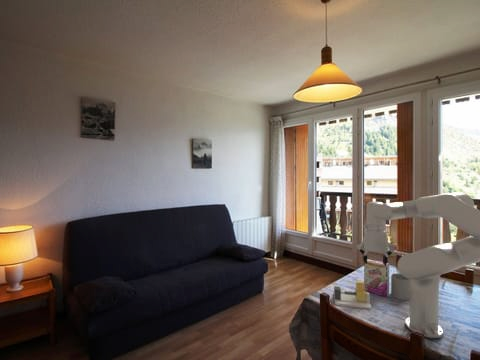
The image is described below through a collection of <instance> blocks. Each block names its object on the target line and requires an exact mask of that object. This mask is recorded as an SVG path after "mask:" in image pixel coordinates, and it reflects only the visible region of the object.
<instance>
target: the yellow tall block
mask: <svg viewBox="0 0 480 360" xmlns="http://www.w3.org/2000/svg"><path fill="white" fill-rule="evenodd" d="M354 290H355V291H354V292H356V295H355V297H356V300H360V301H366V292H367V291H365V283H364V281H360V280H356V281H355V289H354Z"/></svg>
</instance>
